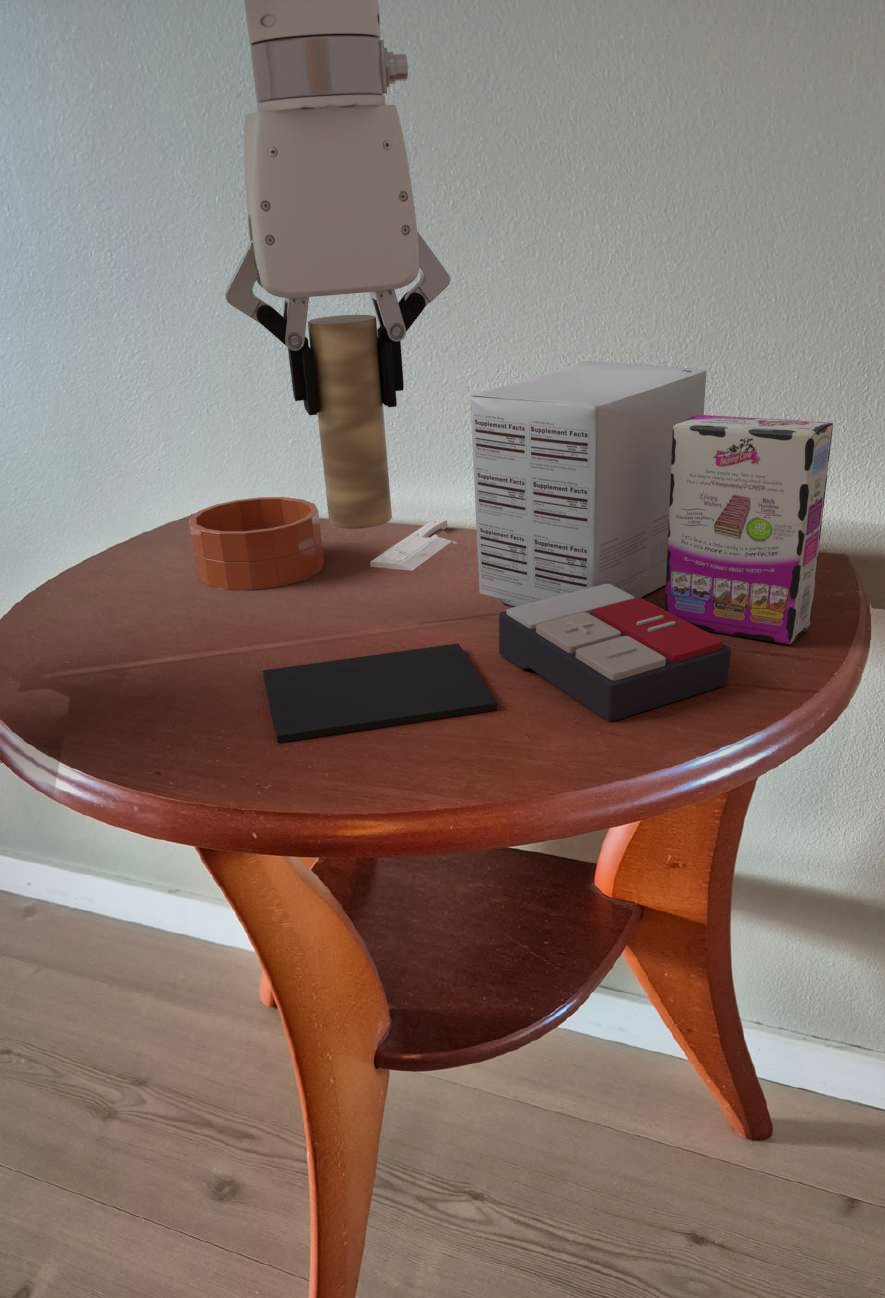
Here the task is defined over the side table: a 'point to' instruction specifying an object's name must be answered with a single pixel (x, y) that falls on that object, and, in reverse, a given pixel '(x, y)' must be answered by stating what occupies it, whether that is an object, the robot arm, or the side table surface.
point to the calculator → (613, 650)
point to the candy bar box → (746, 524)
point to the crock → (257, 543)
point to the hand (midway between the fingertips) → (349, 404)
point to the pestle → (351, 420)
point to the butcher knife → (413, 548)
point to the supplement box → (577, 478)
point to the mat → (374, 692)
